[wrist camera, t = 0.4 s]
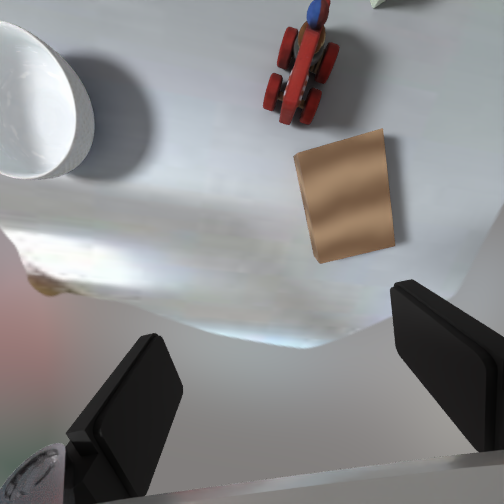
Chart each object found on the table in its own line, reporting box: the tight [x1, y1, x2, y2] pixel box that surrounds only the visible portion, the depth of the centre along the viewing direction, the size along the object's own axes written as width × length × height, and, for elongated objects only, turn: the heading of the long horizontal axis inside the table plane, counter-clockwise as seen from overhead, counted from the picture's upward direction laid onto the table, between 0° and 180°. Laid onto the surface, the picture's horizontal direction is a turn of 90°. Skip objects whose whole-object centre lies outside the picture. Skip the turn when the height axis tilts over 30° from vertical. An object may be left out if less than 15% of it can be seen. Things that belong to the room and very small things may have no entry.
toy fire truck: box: [263, 0, 340, 125], centre depth 27 cm, size 7×12×10 cm, turn 161°
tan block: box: [293, 128, 395, 264], centre depth 34 cm, size 16×11×4 cm
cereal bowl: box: [0, 21, 95, 180], centre depth 31 cm, size 17×17×7 cm
